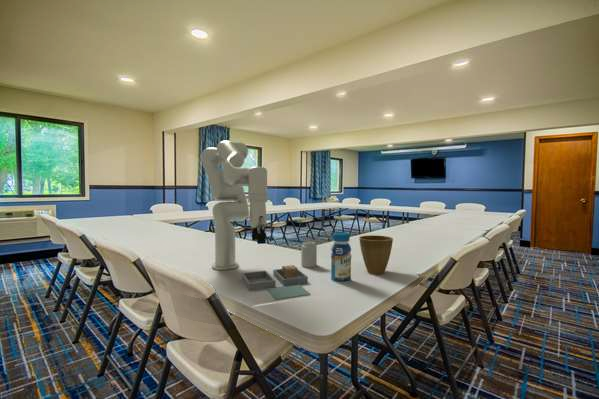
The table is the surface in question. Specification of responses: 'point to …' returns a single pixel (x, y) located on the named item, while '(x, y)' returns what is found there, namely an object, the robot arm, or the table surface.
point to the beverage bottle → (341, 258)
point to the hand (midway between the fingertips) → (258, 241)
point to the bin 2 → (291, 281)
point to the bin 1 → (258, 280)
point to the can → (309, 254)
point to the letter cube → (289, 272)
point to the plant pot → (376, 252)
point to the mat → (288, 291)
